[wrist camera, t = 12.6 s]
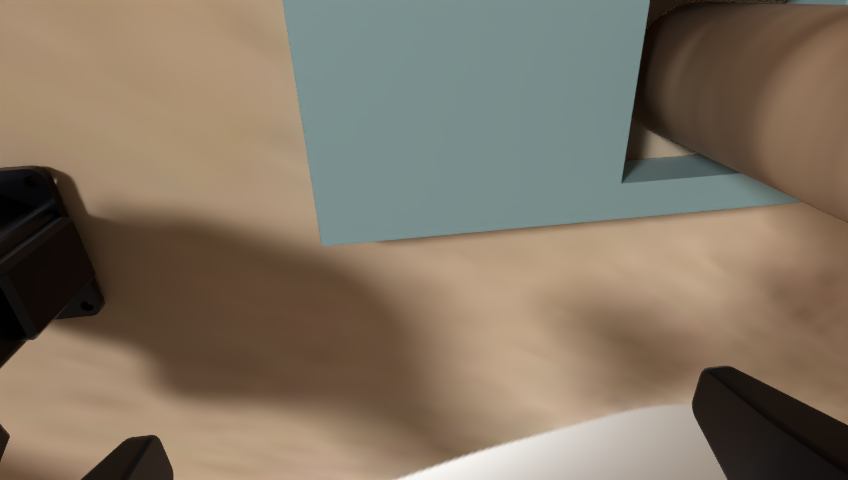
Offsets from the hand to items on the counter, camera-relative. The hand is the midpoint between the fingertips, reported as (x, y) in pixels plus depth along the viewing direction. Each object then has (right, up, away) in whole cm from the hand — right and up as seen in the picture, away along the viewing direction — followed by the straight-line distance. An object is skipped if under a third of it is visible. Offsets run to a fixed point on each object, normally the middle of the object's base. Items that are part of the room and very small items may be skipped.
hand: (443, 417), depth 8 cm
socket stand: (+5, +9, +11) cm, 15 cm away
